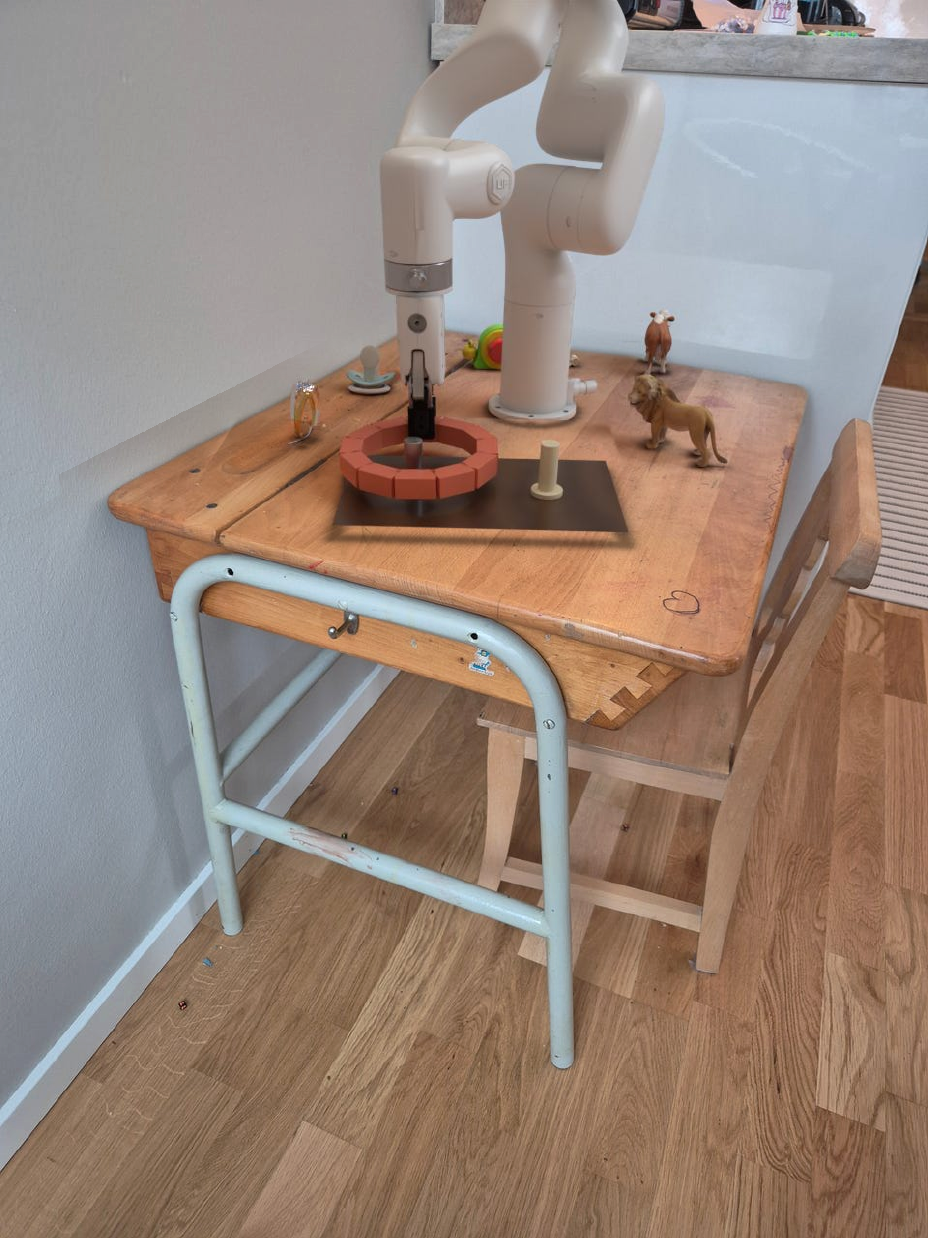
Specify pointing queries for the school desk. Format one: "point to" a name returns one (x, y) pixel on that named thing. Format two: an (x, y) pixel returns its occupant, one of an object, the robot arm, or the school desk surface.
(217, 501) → the school desk surface
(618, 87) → the robot arm
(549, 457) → the cream post
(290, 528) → the school desk surface
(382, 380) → the pacifier
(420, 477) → the ring
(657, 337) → the bull figurine
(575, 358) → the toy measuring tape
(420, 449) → the steel post
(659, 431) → the lion figurine
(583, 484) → the board
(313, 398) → the ring
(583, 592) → the school desk surface
